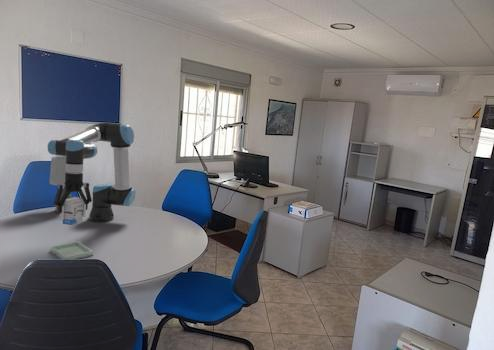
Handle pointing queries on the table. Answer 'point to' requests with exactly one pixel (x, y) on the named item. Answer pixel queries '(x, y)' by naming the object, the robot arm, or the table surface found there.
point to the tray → (71, 251)
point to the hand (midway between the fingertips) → (72, 217)
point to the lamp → (58, 173)
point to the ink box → (73, 210)
